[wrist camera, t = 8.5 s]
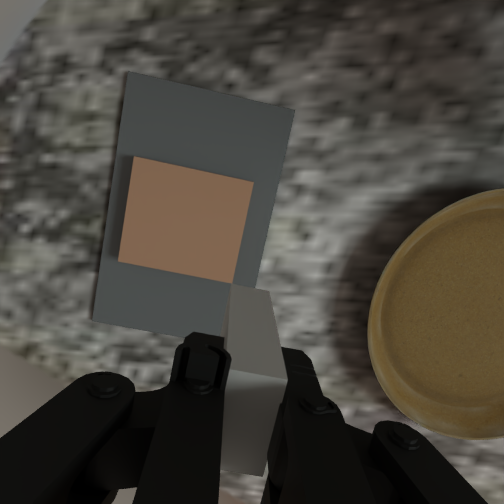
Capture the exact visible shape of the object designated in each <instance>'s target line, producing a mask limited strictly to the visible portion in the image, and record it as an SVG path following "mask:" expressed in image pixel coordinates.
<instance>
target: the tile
mask: <svg viewBox="0 0 504 504" xmlns="http://www.w3.org/2000/svg"><path fill="white" fill-rule="evenodd" d="M253 184H254V182H253V181H248V180H244V179H239V178H235V177H230V176H225V175H221V174H216V173H212V172H207V171H202V170H198V169H193V168H189V167H184V166H179V165H175V164H170V163H165V162H161V161H156V160H152V159H147V158H142V157H138V156H134V159H133V166H132V172H131V179H130V185H129V192H128V198H127V205H126V211H125V218H124V224H123V231H122V238H121V244H120V251H119V257H118V261H119V262H124V263H129V264H134V265H139V266H144V267H149V268H155V269H160V270H165V271H170V272H175V273H180V274H185V275H190V276H196V277H201V278H206V279H211V280H216V281H221V282H226V283H232V282H233V277H234V273H235V268H236V263H237V259H238V254H239V249H240V245H241V240H242V235H243V231H244V226H245V221H246V217H247V212H248V207H249V203H250V198H251V193H252V189H253Z"/></svg>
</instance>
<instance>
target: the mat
mask: <svg viewBox="0 0 504 504" xmlns="http://www.w3.org/2000/svg"><path fill="white" fill-rule="evenodd" d="M294 113H295V110H292V109H288V108H284V107H279V106H275V105H271V104H267V103H262V102H258V101H254V100H250V99H245V98H241V97H237V96H232V95H228V94H224V93H220V92H215V91H211V90H207V89H203V88H198V87H194V86H190V85H185V84H181V83H177V82H173V81H168V80H164V79H160V78H156V77H151V76H147V75H143V74H139V73H134V72H130V71H128V75H127V82H126V89H125V96H124V103H123V110H122V117H121V123H120V130H119V137H118V144H117V151H116V158H115V165H114V172H113V179H112V186H111V193H110V200H109V207H108V214H107V221H106V228H105V235H104V242H103V248H102V255H101V262H100V269H99V276H98V283H97V290H96V297H95V304H94V311H93V318H92V321H94V322H100V323H105V324H111V325H116V326H122V327H127V328H133V329H139V330H144V331H150V332H155V333H161V334H166V335H172V336H177V337H183V338H185V337H186V336H188V335H189V334H191V333H192V332H199V333H205V334H210V335H215V336H220V334H221V329H222V324H223V320H224V315H225V310H226V306H227V301H228V297H229V292H230V287H231V284H235V285H241V286H246V287H251V288H255V285H256V281H257V276H258V272H259V267H260V263H261V259H262V254H263V250H264V245H265V241H266V237H267V232H268V228H269V223H270V219H271V215H272V210H273V206H274V201H275V197H276V193H277V188H278V184H279V179H280V175H281V171H282V166H283V162H284V157H285V153H286V149H287V144H288V140H289V135H290V131H291V127H292V122H293V118H294ZM134 156H138V157H142V158H147V159H152V160H156V161H161V162H165V163H170V164H175V165H179V166H184V167H189V168H193V169H198V170H202V171H207V172H212V173H216V174H221V175H225V176H230V177H235V178H239V179H244V180H248V181H253V182H254V184H253V189H252V193H251V198H250V203H249V207H248V212H247V217H246V221H245V226H244V231H243V235H242V240H241V245H240V249H239V254H238V259H237V263H236V268H235V273H234V277H233V282H232V283H226V282H221V281H216V280H211V279H206V278H201V277H196V276H190V275H185V274H180V273H175V272H170V271H165V270H160V269H155V268H149V267H144V266H139V265H134V264H129V263H124V262H119V261H118V257H119V251H120V244H121V238H122V231H123V224H124V218H125V211H126V205H127V198H128V192H129V185H130V179H131V172H132V166H133V159H134Z"/></svg>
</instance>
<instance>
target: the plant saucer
mask: <svg viewBox="0 0 504 504" xmlns="http://www.w3.org/2000/svg"><path fill="white" fill-rule="evenodd" d="M367 339H368V349H369V355H370V359H371V363H372V367H373V370H374V372H375V375H376V378H377V380H378V382H379V384H380V386H381V387H382V389H383V391H384V392H385V394H386V395H387V397H388V398H389V399H390V401H391V402H392V403H393V404H394V405H395V406H396V407H397V408H398V409H399V410H400V411H401V412H402V413H403V414H404V415H406V416H407V417H408V418H409V419H411V420H412V421H414V422H415V423H417V424H419V425H420V426H422V427H424V428H426V429H428V430H431V431H433V432H436V433H438V434H441V435H445V436H448V437H453V438H459V439H467V440H490V439H498V438H504V188H502V189H495V190H490V191H485V192H482V193H478V194H475V195H472V196H469V197H466V198H464V199H461V200H459V201H457V202H455V203H453V204H451V205H449V206H447V207H445V208H443V209H442V210H440V211H438V212H437V213H435V214H434V215H432V216H431V217H429V218H428V219H427V220H425V221H424V222H423V223H422V224H420V225H419V226H418V227H417V228H416V229H415V230H414V231H413V232H412V233H411V234H410V235H409V236H408V237H407V238H406V239H405V240H404V241H403V242H402V243H401V244H400V246H399V247H398V248H397V249H396V251H395V252H394V253H393V255H392V256H391V258H390V259H389V261H388V262H387V264H386V266H385V268H384V269H383V271H382V273H381V275H380V278H379V280H378V282H377V284H376V287H375V290H374V293H373V296H372V300H371V304H370V309H369V316H368V327H367Z"/></svg>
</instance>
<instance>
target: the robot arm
mask: <svg viewBox="0 0 504 504" xmlns="http://www.w3.org/2000/svg"><path fill="white" fill-rule="evenodd" d="M267 460H268V471H269V473H268V477H267V481H266V484H265V488H264V492H263V496H262V500H261V503H260V504H488V503H487V502H486V501H485V500H484V499H483V498H482V497H481V496H480V495H479V494H478V493H477V492H476V490H475V489H474V488H473V487H472V486H471V485H470V484H469V483H468V482H467V481H466V480H465V479H464V478H463V477H462V476H461V475H460V474H459V472H458V471H457V470H456V469H455V468H454V467H453V466H452V465H451V464H450V463H449V462H448V461H447V460H446V459H445V458H444V457H443V456H442V454H441V453H440V452H439V451H438V450H437V449H436V448H435V447H434V446H433V445H432V444H431V443H430V442H429V441H428V440H427V439H426V438H425V437H424V436H423V435H422V434H420V433H419V432H418V431H416V430H414V429H413V428H411V427H410V426H408V425H406V424H402V423H400V422H394V421H388V420H387V421H380V422H378V423H377V424H376V425H375V427H374V430H373V433H372V434H371V433H368V432H366V431H363V430H360V429H358V428H355V427H353V426H351V425H348V424H346V423H345V421H344V418H343V416H342V413H341V411H340V409H339V408H338V406H337V405H336V404H335V403H334V402H333V401H331V400H330V399H329V398H327V397H325V396H323V393H322V390H321V387H320V385H319V382H318V379H317V377H316V373H315V370H314V367H313V364H312V361H311V359H310V358H309V357H308V356H307V355H306V354H305V353H304V352H303V351H301V350H296V349H291V348H285V347H281V345H280V340H279V335H278V331H277V326H276V321H275V316H274V312H273V307H272V302H271V297H270V293H269V291H266V290H261V289H256V288H251V287H246V286H241V285H235V284H231V287H230V292H229V297H228V301H227V306H226V310H225V315H224V320H223V324H222V329H221V334H220V336H215V335H210V334H205V333H199V332H192V333H191V334H189V335H188V336H186V337H185V339H184V343H182V344H180V345H179V346H178V347H177V348H176V351H175V356H174V361H173V366H172V372H171V377H170V382H169V384H168V385H167V386H165V387H163V388H161V389H158V390H154V391H147V392H135V386H134V384H133V383H132V381H131V380H130V379H129V378H127V377H124V376H122V375H120V374H116V373H112V372H95V373H90V374H86V375H84V376H82V377H80V378H78V379H76V380H75V381H74V382H73V383H71V384H70V385H69V386H67V387H66V388H65V389H64V390H62V391H61V392H60V393H58V394H57V395H56V396H54V397H53V398H52V399H51V400H49V401H48V402H47V403H45V404H44V405H43V406H41V407H40V408H39V409H38V410H36V411H35V412H34V413H32V414H31V415H30V416H29V417H27V418H26V419H25V420H23V421H22V422H21V423H19V424H18V425H17V426H15V427H14V428H13V429H12V430H11V431H9V432H8V433H6V434H5V435H4V436H2V437H1V438H0V504H111V503H112V502H113V501H114V499H115V497H116V495H117V492H118V489H126V488H134V487H137V490H136V494H135V497H134V500H133V503H132V504H218V497H219V481H220V470H224V471H230V472H237V473H243V474H249V475H255V476H261V477H263V474H264V470H265V466H266V462H267Z"/></svg>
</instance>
